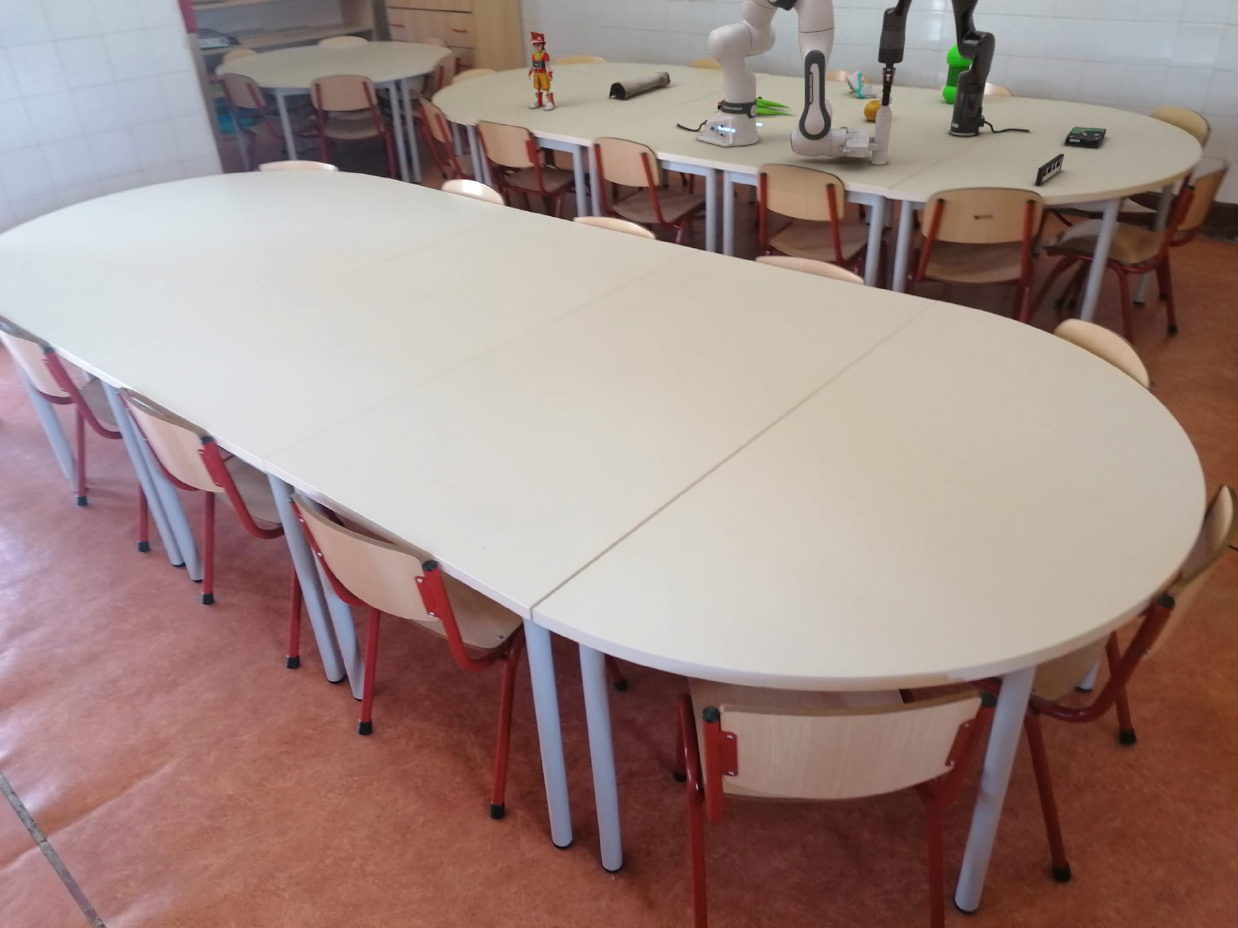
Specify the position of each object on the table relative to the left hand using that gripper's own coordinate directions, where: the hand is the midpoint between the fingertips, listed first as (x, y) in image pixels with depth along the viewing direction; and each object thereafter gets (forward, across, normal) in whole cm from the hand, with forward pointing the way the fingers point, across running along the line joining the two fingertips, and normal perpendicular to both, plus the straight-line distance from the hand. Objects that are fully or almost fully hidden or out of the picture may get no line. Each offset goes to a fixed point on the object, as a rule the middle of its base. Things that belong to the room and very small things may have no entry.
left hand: (883, 143), depth 292 cm
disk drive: (+66, +29, +6) cm, 72 cm away
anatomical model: (-10, +94, +6) cm, 95 cm away
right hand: (-1, 0, -12) cm, 13 cm away
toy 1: (-141, +69, +6) cm, 157 cm away
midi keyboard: (+50, -12, +6) cm, 51 cm away
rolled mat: (-105, +97, +6) cm, 143 cm away
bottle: (-1, 0, +6) cm, 6 cm away
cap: (-1, 0, -14) cm, 14 cm away
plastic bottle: (+26, +82, +6) cm, 87 cm away
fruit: (-3, +54, +6) cm, 54 cm away
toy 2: (-49, +64, +6) cm, 81 cm away
